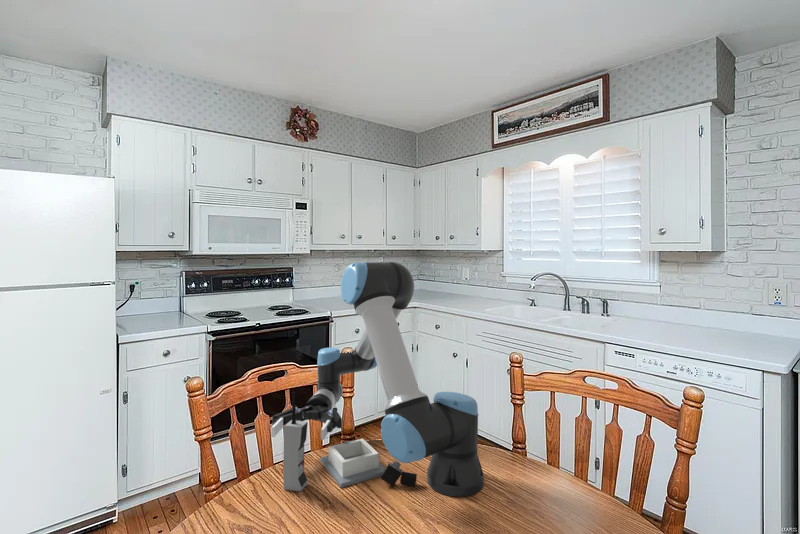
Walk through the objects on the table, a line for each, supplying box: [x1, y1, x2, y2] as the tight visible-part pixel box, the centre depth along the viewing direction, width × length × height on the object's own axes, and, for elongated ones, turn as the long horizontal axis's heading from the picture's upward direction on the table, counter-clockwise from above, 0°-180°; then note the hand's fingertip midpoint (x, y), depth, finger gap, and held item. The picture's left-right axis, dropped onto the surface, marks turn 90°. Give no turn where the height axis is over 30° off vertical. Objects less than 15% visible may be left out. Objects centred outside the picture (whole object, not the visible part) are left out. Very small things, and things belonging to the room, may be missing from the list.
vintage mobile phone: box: [283, 391, 309, 492], centre depth 106 cm, size 4×5×25 cm
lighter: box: [379, 460, 418, 488], centre depth 108 cm, size 9×2×6 cm
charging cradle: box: [319, 438, 386, 488], centre depth 116 cm, size 16×14×5 cm
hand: (297, 433), depth 109 cm, fingers open, 13 cm apart
